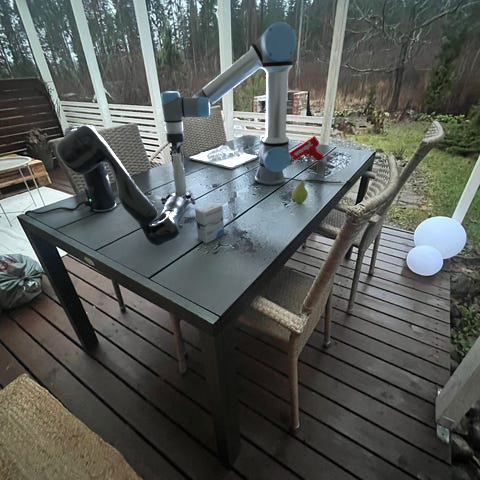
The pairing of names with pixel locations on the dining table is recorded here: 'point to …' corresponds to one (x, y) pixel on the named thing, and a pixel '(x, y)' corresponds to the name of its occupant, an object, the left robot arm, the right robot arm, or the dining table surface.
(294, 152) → the toy gun
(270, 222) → the dining table surface
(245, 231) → the dining table surface
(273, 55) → the right robot arm
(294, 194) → the fruit
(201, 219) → the ink box
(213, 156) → the relief map
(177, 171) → the bottle
